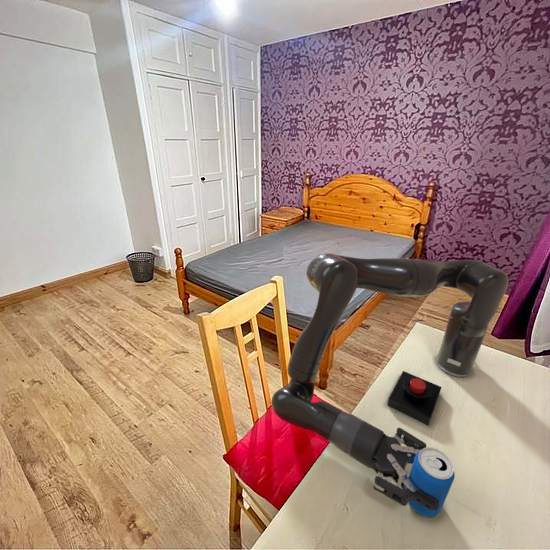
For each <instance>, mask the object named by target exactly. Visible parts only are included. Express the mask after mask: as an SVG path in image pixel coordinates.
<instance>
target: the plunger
mask: <svg viewBox="0 0 550 550" xmlns="http://www.w3.org/2000/svg"><path fill="white" fill-rule="evenodd" d="M409 387H410V389H411V391H413V392H415V393H417V394H422V393H424V391H425V387H426V384H425V383H424V382H423V381H422V380H420V379H417V378H414V379H412V380H411V382H410V386H409Z"/></svg>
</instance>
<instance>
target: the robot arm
mask: <svg viewBox="0 0 550 550" xmlns="http://www.w3.org/2000/svg"><path fill="white" fill-rule="evenodd" d="M306 278H307V280H308V282H309V284H310V285H311V286H312V288H313V289H314V290H316V291H317V292H318V299H317V304H316V308H315V311H314V313H313V315H312V317H311V319H310V320H309V322H308V324H307V325H306V326H305V328H304V329H303V330H302V331H301V332H300V334H299V336H298V337H297V339H296V341H295V343H294V345H293V348H292V352H291V354H290V358H289V360H288V362H287V363H288V364H287V368H286V372H287V375H288V376H289V378H290V380H289V381H288V383H287V384H286V385H284V386H283V387H281V388H279V389H278V390H276V391H275V392H274V393H273V395H272V397H271V403H270V404H271V408H272V410H273V412H274V414H275V415H276V416H277V417H278V418H279V419H280V420H282V421H283V422H285V423H287V424H290V425H292V426H295V427H298V428H301V429H303V430H308V431H311V432H314V433H315V434H317V435H318V436H319V437H321V438H323V439H324V440H326V441H328V442H329V443H330V444H332V445H333V446H334V447H336V449H338V450H339V451H341V452H342V453H344V454H346V455H348V456H349V457H350V458H352V459H353V460H355V461H357V462H359V463H360V464H362V465H363V466H365V467H366V468H368V469H372V470H374V471H375V473H376V476H375V477H374V480H373V485H372V488H373V490H374V491H376V492H378V493H380V494H381V495H383V496H385V497H387V498H389V499H390V500H393V501H394V502H396V503H398V504H400V505H401V506H403V507H406V506H408V504H409V503H408V502H409V501H410V500H415V501H417V502H418V503H420V504H421V505H423V506H424V507H426V508H428V509H429V510H437V509H438V507H439V504H440V501H439V500H438V499H436V498H435V497H433V496H431V495H430V494H428V493H426V492H425V491H423V490H422V489H420V488H417V489H416V487H415V486H414V485H413V483H412V482H411V481H410V480H409V475H408V474H407V472H406V471H405V470H406V467H407V466H408V464H409V465H411V464H412V465H413V462H414V459H415V456H416V454H417V453H418V452H419V451H421V450H422V449H423V448H427V443H426V442H425V441H423V440H421V439H419V438H417V437H416V436H414V435H413V434H411V433H409V431H406V430H405V429H403V428H401V427H397V428H396V431H395V434H394V435H393V436H389V435H387V434H386V433H385V432H384V430H381V429H380V428H378V427H376V426H374V425H372V424H370V423H369V422H367V421H365V420H363V419H361V418H360V417H358V416H356V415H354V414H352V413H350V412H347V411H345V410H343V409H341V408H339V407H338V406H335V405H333V404H331V403H330V402H328V401H324V400H319V401H315V402H313V401H312V400H313V397H314V393H315V386H316V378H317V374H318V372H319V369H320V366H321V363H322V361H323V358H324V354H325V352H326V350H327V347H328V345H329V342H330V340H331V338H332V336H333V333H335V329H336V328H337V326H338V325H339V323H340V321H341V319H342V317H343V315H344V313H345V311H346V309H347V308H348V306H349V304H350V302H352V301H351V300H352V299H353V297H354V295H355V293H356V291H357V289H363V290H368V291H372V292H376V293H380V294H383V295H389V296H394V297H402V298H403V297H404V298H405V297H406V298H418V297H420V298H421V297H426V296H428V295H431V294H432V293H434V292H435V291H436V290H437V289H439V288H448V289H449V288H450V289H456V290H458V291H460V292H462V293H464V294H465V295H467V296H468V297H470V298H471V300H470V301H459V302H456V303H454V304H453V306H451V310H450V313H449V317H448V319H447V324H446V328H445V331H444V333H443V337H442V341H441V343H440V347H439V351H438V354H437V356H436V360H435V362H436V365H437V366H438V368H439V369H440V370H441V371H443V372H444V373H446V374H448V375H450V376H453V377H457V378H467V377H469V376H470V375H471V374H472V372H473V368H474V365H475V363H476V360H477V357H478V354H479V353H480V350H481V347H482V344H483V341H484V338H485V336H486V332H487V330H488V327H489V325H490V323H491V320H492V319H493V318H494V316H495V315H496V313H497V312H498V310H499V307H500V305H501V303H502V300H503V298H504V296H505V294H506V292H507V289H508V286H509V276H508V275H507V273H506V272H505V271H502V270H501V269H499V268H496V267H495V266H493V265H490V264H488V263H486V262H484V261H482V260H479V259H460V260H444V261H443V260H434V259H433V260H432V259H421V258H386V257H385V258H361V257H360V258H359V257H352V256H346V255H339V254H335V253H323V254H320V255H317V256H316V257H314V258H313V259H312V260H311V261H310V262H309V263H308V265H307V267H306ZM387 478H390V479H391V480H392V481H393V483H392V482H390V481H388V479H387Z"/></svg>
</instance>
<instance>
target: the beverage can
mask: <svg viewBox="0 0 550 550" xmlns="http://www.w3.org/2000/svg"><path fill="white" fill-rule="evenodd" d="M454 468H455V467H454V464H453V462H452V460H451V458H450V457H449V456H448V455H447V454H446V453H445V452H443V451H442V450H440V449H438V448H435V447H427V446H426V448H423V449H422V450H421V451H419V452H418V453H417V454H416V456H415V459H414V462H413V463H412V465H411V469H410V472H409V475H408V478H409V480H410V481H411V482H412V483H413V485H414V486H415V487H416V489H417V488H420V489H422V490H423V491H425V492H426V493H428V494H430V495H431V496H433V497H435V498H436V499H438V500H439V501H440V504H439V507H438V509H437V510H429V509H428V508H426V507H424V506H423V505H421V504H420V503H418V502H417V501H415V500H410V501H409V502H408V503H407V504H409V506H410V508H411V509H413V511H414V512H416V513H417V514H418V515H420V516H423V517H425V518H435V517H437V516H438V515H439V514H440V513H441V511H442V509H443V506H444V504H445V502H446V499H447V497H448V495H449V492H450V490H451V487H452V485H453V483H454V480H455V477H456V476H455V469H454Z"/></svg>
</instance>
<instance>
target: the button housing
mask: <svg viewBox="0 0 550 550" xmlns="http://www.w3.org/2000/svg"><path fill="white" fill-rule="evenodd" d="M414 378H417V379H420V380H422V381H423V382H424V383H425V384H426V387H425V391H424V393H422V394H417V393H415V392H413V391H411V389H410V387H409V386H410V382H411V380H412V379H414ZM394 385H395V386H394V387H393V390H392V391H391V393H390V395H389V397H388V401H387V406H388V407H389V408H391V409H394V410H396V411H398V412H400V413H401V414H404V415H406V416H408V417H409V418H412V419H413V420H415V421H418V422H420V423H421V424H424V425H426V426H427V427H428V426H430V424H431V420H432V417H433V414H434V411H435V408H436V406H437V402H438V400H439V397H440V394H441V390H442V386H440V385H437V384H436V383H433V382H431V381H428V380H426V379H424V378H422V377H419V376H417V375H414V374H413V373H410V372H408V371H405V370H402V372H401V374H400V376H399V378H398V379H397V381H396V384H394Z"/></svg>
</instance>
